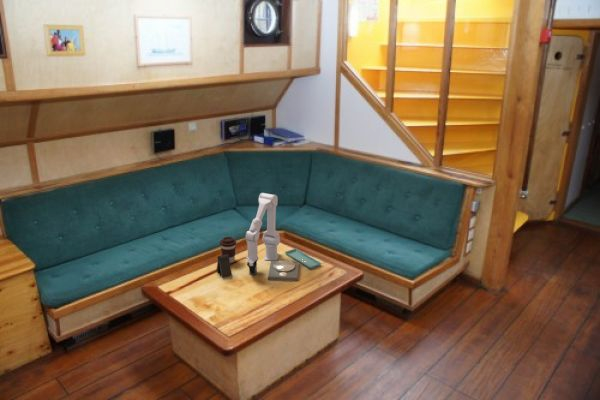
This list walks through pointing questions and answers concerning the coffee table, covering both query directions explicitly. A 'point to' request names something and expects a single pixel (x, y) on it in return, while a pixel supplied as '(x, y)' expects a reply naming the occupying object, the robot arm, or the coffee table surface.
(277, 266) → the scale pan
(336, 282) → the coffee table surface
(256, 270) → the cylinder
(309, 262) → the rectangular tray
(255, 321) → the coffee table surface
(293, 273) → the scale base
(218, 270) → the phone stand
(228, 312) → the coffee table surface
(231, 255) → the coffee cup
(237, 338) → the coffee table surface
